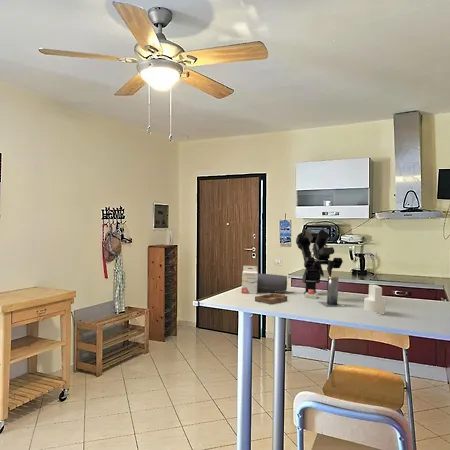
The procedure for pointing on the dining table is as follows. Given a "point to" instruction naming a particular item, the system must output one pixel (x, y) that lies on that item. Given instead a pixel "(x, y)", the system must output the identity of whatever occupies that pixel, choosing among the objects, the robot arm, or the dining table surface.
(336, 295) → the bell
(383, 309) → the base with upright slab
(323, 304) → the grey flat panel
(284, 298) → the wooden tray
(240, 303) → the dining table surface
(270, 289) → the bluetooth speaker
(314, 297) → the white square base
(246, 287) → the ink cartridge box
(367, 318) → the dining table surface
